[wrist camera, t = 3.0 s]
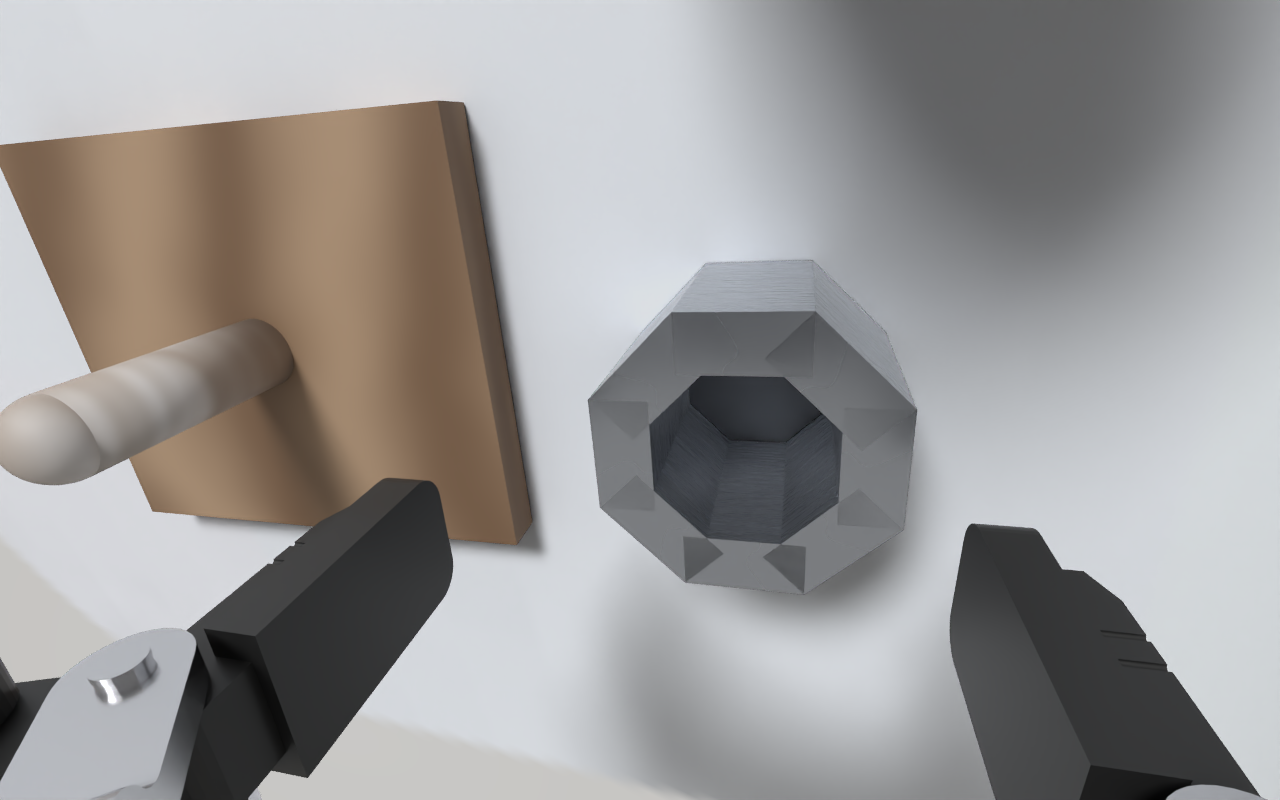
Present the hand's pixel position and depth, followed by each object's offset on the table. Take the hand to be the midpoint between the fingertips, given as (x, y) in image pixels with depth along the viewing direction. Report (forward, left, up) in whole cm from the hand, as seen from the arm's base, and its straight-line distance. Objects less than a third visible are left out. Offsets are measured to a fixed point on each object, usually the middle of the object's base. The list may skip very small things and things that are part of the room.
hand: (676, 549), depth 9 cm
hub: (-1, 0, -7) cm, 7 cm away
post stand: (+13, -1, -7) cm, 15 cm away
